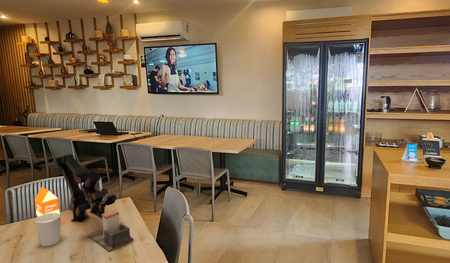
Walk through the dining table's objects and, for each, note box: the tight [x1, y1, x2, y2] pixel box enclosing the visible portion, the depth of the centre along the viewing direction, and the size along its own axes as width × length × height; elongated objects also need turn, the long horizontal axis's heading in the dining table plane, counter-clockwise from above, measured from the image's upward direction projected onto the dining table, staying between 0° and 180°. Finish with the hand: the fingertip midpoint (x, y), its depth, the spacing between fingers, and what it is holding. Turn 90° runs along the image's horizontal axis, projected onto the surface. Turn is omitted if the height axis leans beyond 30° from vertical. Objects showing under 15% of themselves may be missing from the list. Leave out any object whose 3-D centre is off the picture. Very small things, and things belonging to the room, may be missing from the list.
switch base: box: [88, 222, 134, 253], centre depth 132 cm, size 19×12×7 cm, turn 51°
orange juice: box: [34, 186, 62, 226], centre depth 144 cm, size 8×9×20 cm
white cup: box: [34, 213, 62, 247], centre depth 130 cm, size 10×10×12 cm
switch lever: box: [101, 209, 120, 234], centre depth 131 cm, size 4×6×12 cm
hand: (104, 219), depth 134 cm, fingers closed
